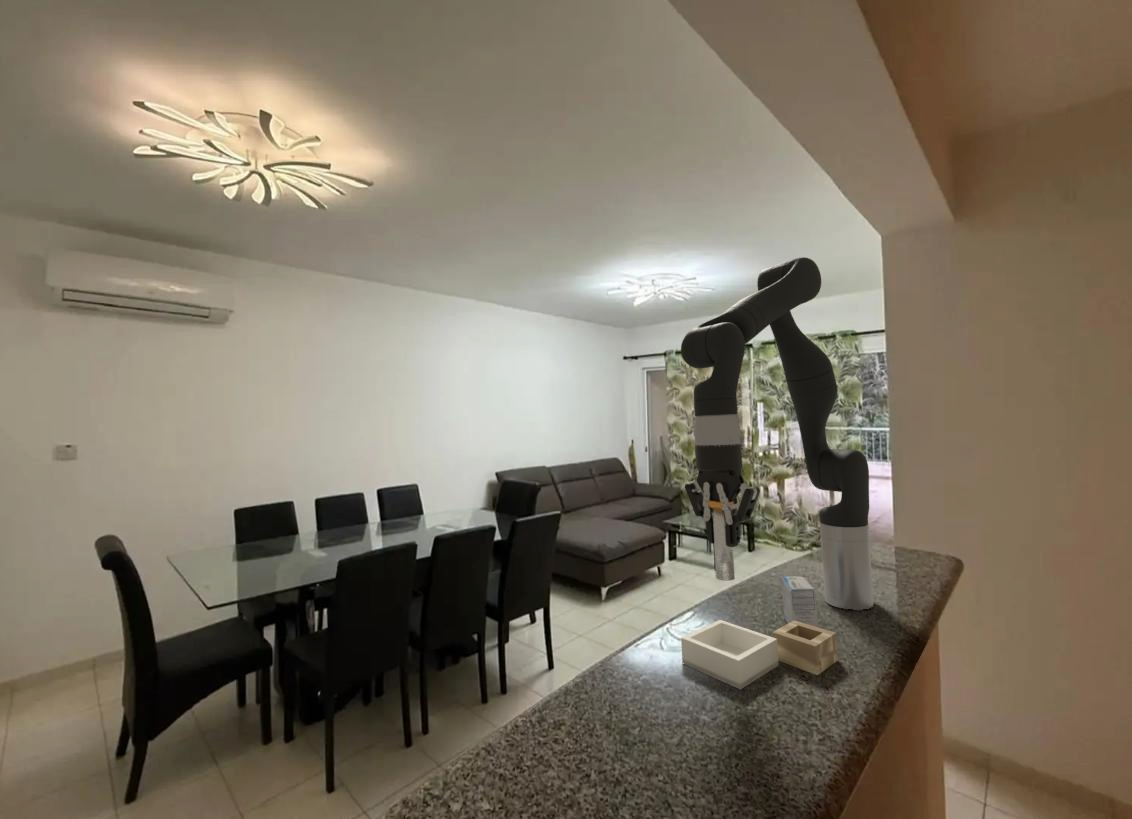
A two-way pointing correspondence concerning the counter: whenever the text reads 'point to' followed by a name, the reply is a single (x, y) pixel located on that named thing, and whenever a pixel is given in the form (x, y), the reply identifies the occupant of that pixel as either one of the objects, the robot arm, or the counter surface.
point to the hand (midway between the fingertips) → (723, 543)
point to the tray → (730, 653)
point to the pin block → (806, 647)
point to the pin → (721, 543)
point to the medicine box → (799, 600)
